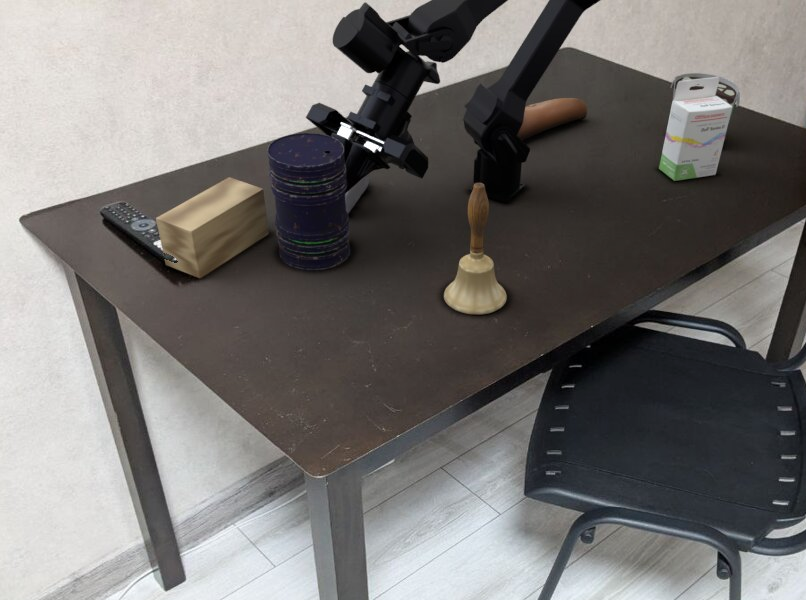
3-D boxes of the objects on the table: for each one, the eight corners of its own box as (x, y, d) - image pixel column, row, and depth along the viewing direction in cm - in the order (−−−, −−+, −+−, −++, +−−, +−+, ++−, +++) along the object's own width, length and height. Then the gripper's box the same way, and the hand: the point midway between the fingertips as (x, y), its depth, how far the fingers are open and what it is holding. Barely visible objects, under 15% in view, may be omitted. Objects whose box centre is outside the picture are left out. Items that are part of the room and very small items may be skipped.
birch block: (269, 234, 129) (263, 188, 124) (200, 278, 120) (191, 231, 115) (236, 222, 131) (229, 176, 126) (165, 265, 122) (155, 217, 117)
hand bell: (433, 305, 118) (435, 192, 107) (458, 274, 124) (462, 164, 113) (493, 321, 116) (500, 208, 106) (515, 289, 122) (524, 178, 111)
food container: (739, 140, 162) (753, 84, 155) (726, 152, 158) (740, 95, 151) (676, 121, 167) (686, 66, 160) (661, 132, 163) (672, 76, 156)
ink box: (673, 182, 148) (692, 92, 138) (657, 169, 152) (674, 80, 142) (717, 175, 151) (738, 86, 141) (701, 162, 154) (720, 74, 145)
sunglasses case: (552, 103, 168) (569, 78, 163) (574, 133, 168) (592, 108, 162) (482, 128, 158) (497, 102, 153) (505, 160, 158) (521, 135, 152)
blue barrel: (267, 264, 123) (254, 160, 113) (293, 229, 130) (282, 128, 120) (338, 275, 122) (331, 171, 112) (360, 239, 129) (355, 138, 119)
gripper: (469, 143, 127) (415, 241, 128) (374, 103, 135) (323, 196, 136) (433, 102, 117) (374, 209, 118) (332, 62, 125) (277, 162, 126)
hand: (337, 194), depth 125 cm, fingers closed, pressing on blue barrel
